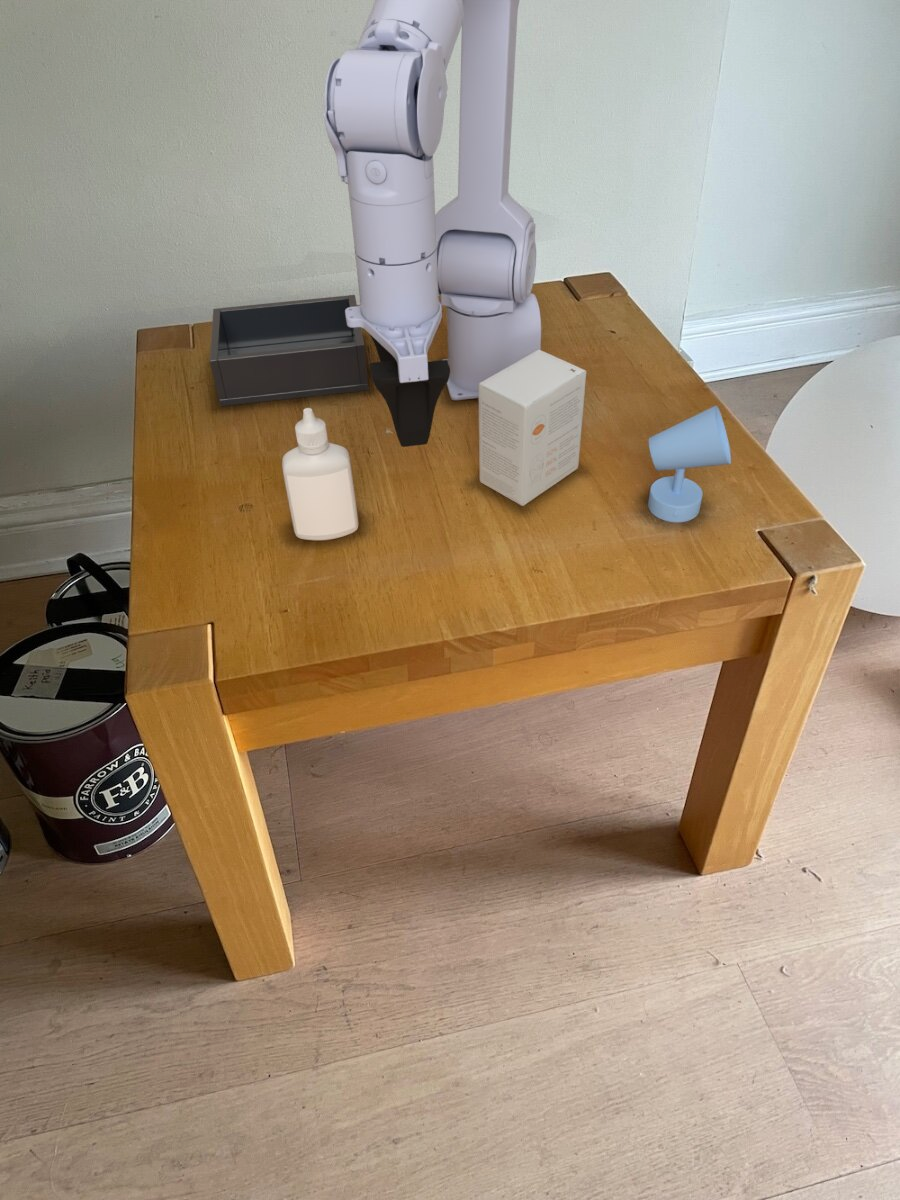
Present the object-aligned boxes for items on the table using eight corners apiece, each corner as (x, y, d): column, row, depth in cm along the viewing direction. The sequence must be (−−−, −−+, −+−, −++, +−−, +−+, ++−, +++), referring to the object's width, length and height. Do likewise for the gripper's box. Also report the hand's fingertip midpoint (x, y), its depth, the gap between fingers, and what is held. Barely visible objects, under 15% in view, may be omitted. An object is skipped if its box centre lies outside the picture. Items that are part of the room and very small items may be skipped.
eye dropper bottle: (345, 550, 76) (328, 431, 67) (286, 537, 77) (262, 419, 69) (366, 519, 79) (351, 401, 70) (309, 507, 80) (288, 390, 72)
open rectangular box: (359, 338, 102) (354, 294, 99) (369, 390, 94) (364, 344, 90) (223, 352, 101) (213, 308, 97) (220, 406, 93) (209, 360, 89)
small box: (534, 446, 86) (539, 346, 79) (579, 469, 83) (588, 368, 76) (477, 482, 82) (476, 381, 75) (522, 508, 79) (525, 406, 72)
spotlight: (718, 493, 80) (640, 486, 81) (740, 396, 73) (655, 389, 74) (719, 528, 76) (638, 520, 77) (743, 429, 69) (653, 422, 70)
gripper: (331, 214, 67) (350, 376, 76) (346, 300, 56) (366, 474, 66) (424, 206, 67) (432, 367, 77) (455, 289, 57) (460, 463, 66)
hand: (407, 416), depth 71 cm, fingers open, 7 cm apart
